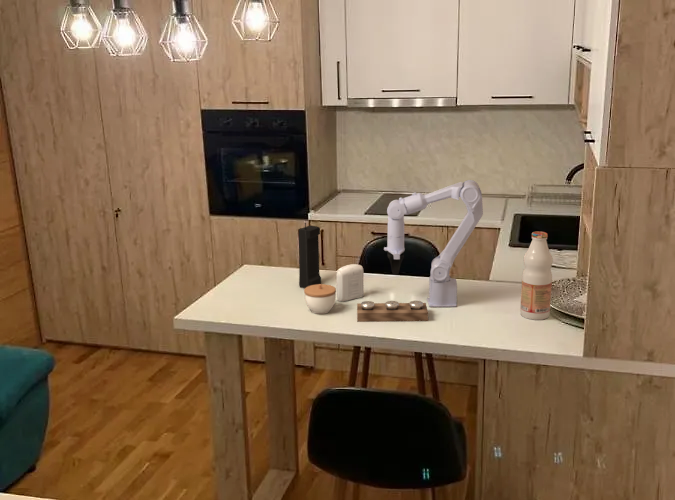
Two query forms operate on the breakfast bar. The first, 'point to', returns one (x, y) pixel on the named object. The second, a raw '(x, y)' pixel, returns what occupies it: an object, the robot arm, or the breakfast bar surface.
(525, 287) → the fruit juice
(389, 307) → the knob middle
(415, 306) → the knob
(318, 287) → the lidded jar
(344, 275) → the photo printer
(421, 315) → the bar
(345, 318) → the breakfast bar surface
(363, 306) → the knob
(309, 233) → the portable radio
